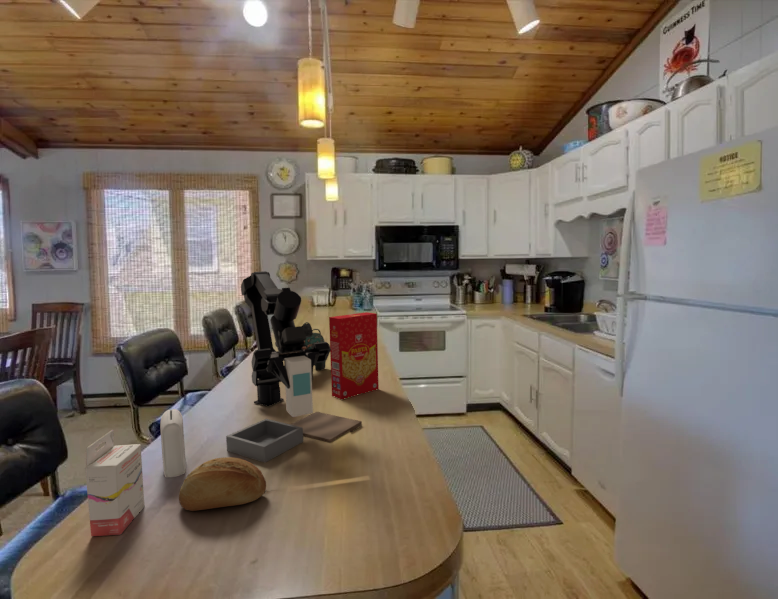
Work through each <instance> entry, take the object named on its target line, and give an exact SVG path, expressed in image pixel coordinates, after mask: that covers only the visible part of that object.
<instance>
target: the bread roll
mask: <svg viewBox="0 0 778 599" xmlns="http://www.w3.org/2000/svg"><path fill="white" fill-rule="evenodd" d="M263 474H264V473H262V470H260V469H259V468H258V467H257V466H256V465H254V463H252V462H250V461H248V460H246V459H243V458H240V457H231V456H230V457H229V456H228V457H217V458H212V459H209V460H207V461H204V462H203V463H201V464H200V465H198V466H197V467H195V468H194V469H193V470H192V471H191V472H190V473H189V474H187V477H186V478H185V479H184V480H183V483H182V485H181V486H180V489H179V493H178V501H179V504H180V506H181V507H182V508H183V509H184V510H187V511H192V512H194V511H205V510H210V509H218V508H225V507H234V506H240V505H245V504H249V503H251V502H254V501H257V500H258V499H260V498H261V497H262V496H263V495H264V494H265V492H266V490H267V481H266V479H265V477H264V475H263Z"/></svg>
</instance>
